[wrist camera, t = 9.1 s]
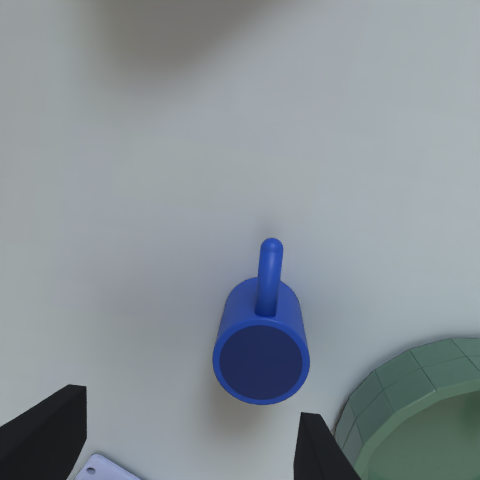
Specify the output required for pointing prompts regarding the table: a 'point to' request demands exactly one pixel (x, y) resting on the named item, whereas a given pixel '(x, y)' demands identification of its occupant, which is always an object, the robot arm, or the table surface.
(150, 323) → the table surface
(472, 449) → the green plant saucer
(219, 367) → the scoop
